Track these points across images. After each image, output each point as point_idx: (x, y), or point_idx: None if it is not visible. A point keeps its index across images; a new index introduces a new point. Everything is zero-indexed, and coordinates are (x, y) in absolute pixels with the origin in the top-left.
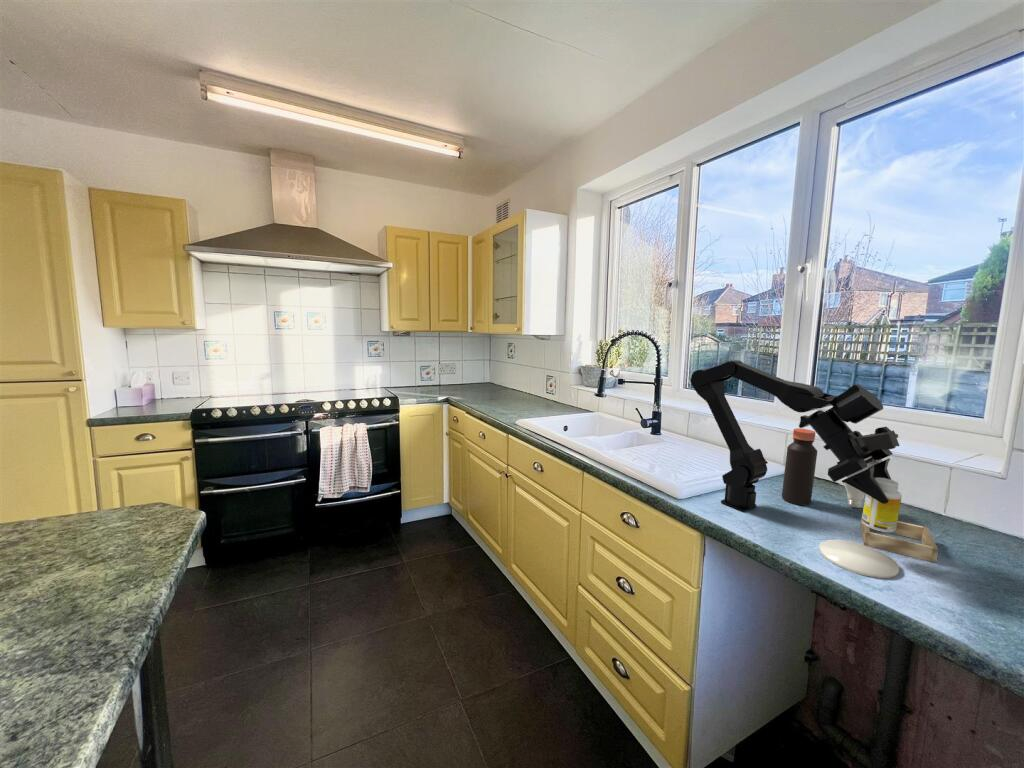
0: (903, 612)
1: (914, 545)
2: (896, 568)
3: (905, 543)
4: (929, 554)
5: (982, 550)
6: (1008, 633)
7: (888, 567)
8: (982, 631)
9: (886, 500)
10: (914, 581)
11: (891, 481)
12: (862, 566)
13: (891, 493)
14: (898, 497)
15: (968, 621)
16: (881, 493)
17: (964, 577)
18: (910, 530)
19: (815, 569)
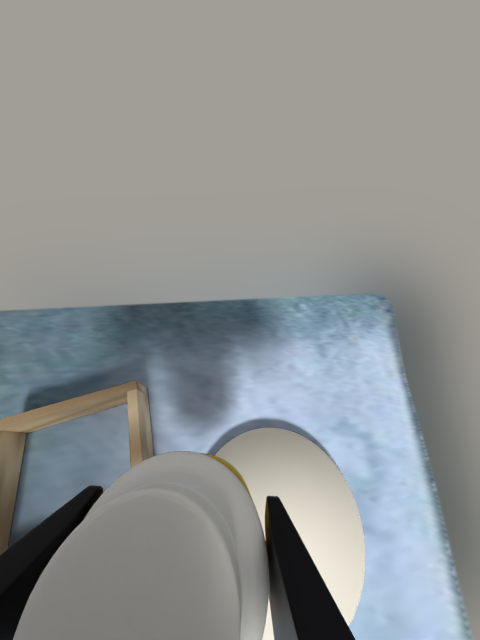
0: (399, 390)
1: (140, 422)
2: (262, 432)
3: (142, 441)
4: (142, 397)
5: (20, 343)
6: (309, 300)
7: (273, 446)
8: (335, 317)
9: (282, 508)
10: (268, 400)
11: (105, 568)
12: (324, 492)
13: (218, 505)
14: (212, 459)
15: (326, 330)
16: (313, 562)
17: (177, 349)
18: (5, 458)
19: (441, 591)
